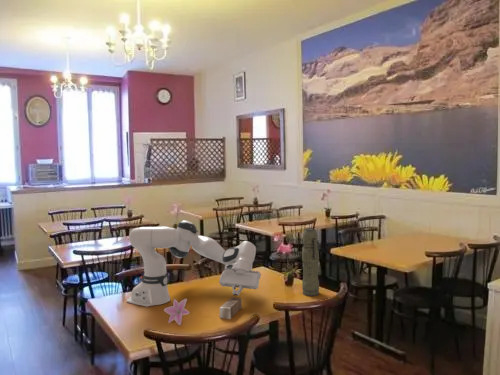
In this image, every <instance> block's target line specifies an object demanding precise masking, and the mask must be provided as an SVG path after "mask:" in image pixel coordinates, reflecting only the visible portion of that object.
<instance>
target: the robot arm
mask: <svg viewBox="0 0 500 375" xmlns="http://www.w3.org/2000/svg"><path fill="white" fill-rule="evenodd" d="M198 232H199V230H198V229H197V226H196V225H195V224H194V223H193V222H191V221H190V220H181V221H179V222H178V224H177V227H176V228H174V227H172V226H171V227H169V226H168V225H166V226H164V225H163V226H162V225H160V226H140V227H134V228H132V230H130V232H129V236H128V240H129V241H128V242H129V243H130V245H131V246H132V247H133V248H134V249H136V250H137V251H138V253H139V254H140V256H141V258H142V261H143V268H144V269H143V270H144V274H142V275H141V276H140V278H139V279H140V280H141V281H140V282H139V283H138V284H137V285H136V286H134V287H133V288H132V290H131V294H130V296H129V297H127V299H126V303H129V304H133V305H138V306H143V307H152V306H158V305H163V304H166V303H168V302H170V301H171V296H170V294H169V293H170V292H169V288H168V272H167V261H166V258H165V256H164V255H162V254H160V253H158V252H157V251H156V249H169V252H170V254H171V255H172V256H174V257H175V258H178V259H182V258H183V259H185V258H186V257H188V255H189V254H190V253H189V251H190V249H191V248H192V249H193V250H194V252H196V254H199V255H201V256H202V257H206V258H208V259H210V260H213V261H215V262H217V263H219V264H220V263H221V264H223V265H224V270H223V271H222V273H221V275H220V277H219V281H218V283H219V284H220V286H221V287H227V288H228V287H229V288H232V295H233V296H238V297H239V296H240V293H241V292H242V291H243V289H249V290H250V289H251V290H257V289H258V288H259V284H260V279H261V276H262V274H261V272H260V271H258V270H252V269H253V263H254V261H255V257H256V251H257V248H256V245H255V244H254V243H252V242H251V241H249V240H244V241H242V242H241V243H239V245H237V246H234V247H228V248H227V249H224V248H223V247H222V246H221V244H220V243H218V242H217V241H216V240H215V239H213V238H211V237H209V236H206V235H200V234H197V233H198ZM237 288H238V290H236V289H237Z"/></svg>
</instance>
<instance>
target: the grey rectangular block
mask: <svg viewBox="0 0 500 375" xmlns="http://www.w3.org/2000/svg"><path fill="white" fill-rule="evenodd" d="M241 310H242V298H241V297H234V296H232V297H231V298H230V299H228V300H227V301H225V302H224V303H223V304H222V305H221V306H220V307H219V318H220V319H223V320H224V319H226V320H231V319H232V318H233V317H234V316H235V315H236V314H237V313H238V312H239V311H241Z"/></svg>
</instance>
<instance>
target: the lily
mask: <svg viewBox="0 0 500 375" xmlns="http://www.w3.org/2000/svg"><path fill="white" fill-rule="evenodd" d="M187 301H188V299H187V298H184V299H182V300H180V301H179V302H178V300H177V299H175V298H174V299H173V303H172V304H173V305H171V306H168V307H165V308H164V309H163V311H164V312H165V313H166V314H168V315H169V317H168V318H169V319H168V321H167V322H168V324H170V323H171V322H173V321H175V322H176V324H178V326H181V325H182V320H183V316H185V315H189V314H190V313H191V312H190V311H189V310H187V308H185V307H186V304H187Z"/></svg>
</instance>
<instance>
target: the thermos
mask: <svg viewBox="0 0 500 375" xmlns="http://www.w3.org/2000/svg"><path fill="white" fill-rule="evenodd" d="M302 238H303V239H302V241H303V242H302V244H303V245H302V252H301V254H302V255H301V261H302V267H303V270H302V273H303V276H302V278H303V279H302V284H301V285H302V287H301V288H302V295H304V296H307V297H316V296H318V295H319V294H320V292H319V290H320V281H319V262H320V261H319V260H320V259H319V257H320V255H319V254H320V252H319V249H318V248H319V247H318V246H319V245H318V232H317V229H315V228H312V227H311V228H310V227H309V228H308V227H307V228H306V229H304V231H303V234H302Z"/></svg>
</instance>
